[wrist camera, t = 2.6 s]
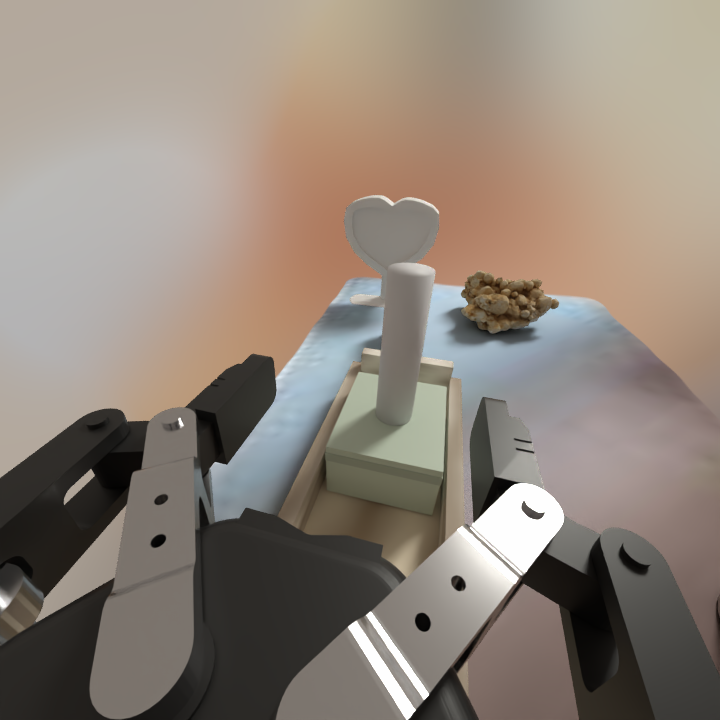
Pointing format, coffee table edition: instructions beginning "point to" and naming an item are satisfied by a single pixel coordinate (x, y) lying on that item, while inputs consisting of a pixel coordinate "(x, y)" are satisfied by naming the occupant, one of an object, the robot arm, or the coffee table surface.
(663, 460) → the coffee table surface
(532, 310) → the mineral formation
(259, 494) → the coffee table surface
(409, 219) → the heart sculpture
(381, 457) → the green block with post
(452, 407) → the bay
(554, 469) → the coffee table surface
